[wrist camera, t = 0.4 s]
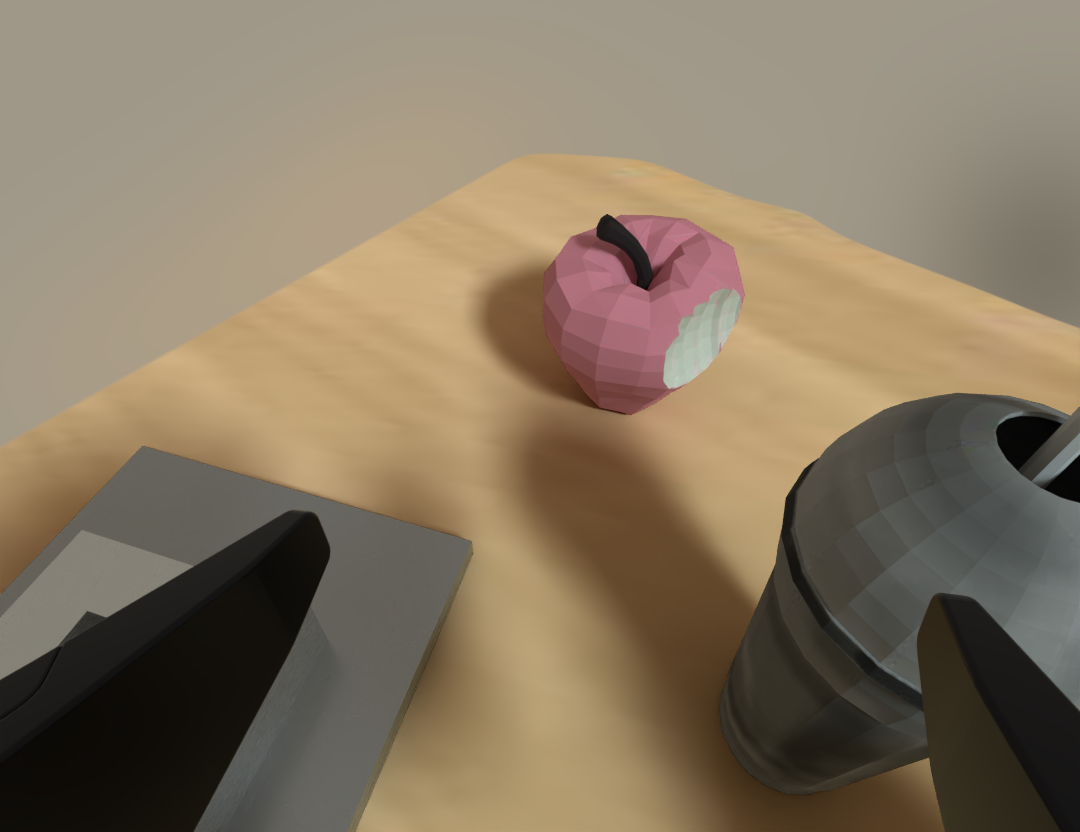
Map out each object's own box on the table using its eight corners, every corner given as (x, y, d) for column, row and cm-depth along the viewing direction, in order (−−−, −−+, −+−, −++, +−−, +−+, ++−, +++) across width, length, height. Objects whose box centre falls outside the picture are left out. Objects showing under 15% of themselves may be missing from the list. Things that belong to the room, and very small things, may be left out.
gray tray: (145, 1326, 14) (-28, 1488, 9) (-378, 1031, 16) (-705, 1048, 12) (472, 553, 27) (465, 467, 22) (151, 459, 29) (88, 365, 25)
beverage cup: (639, 715, 23) (887, 204, 8) (755, 590, 26) (1078, 72, 11) (819, 903, 19) (1865, 622, 4) (925, 731, 23) (1709, 248, 8)
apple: (604, 480, 30) (636, 311, 22) (503, 373, 34) (502, 204, 27) (743, 399, 34) (809, 233, 26) (636, 313, 38) (667, 151, 31)
